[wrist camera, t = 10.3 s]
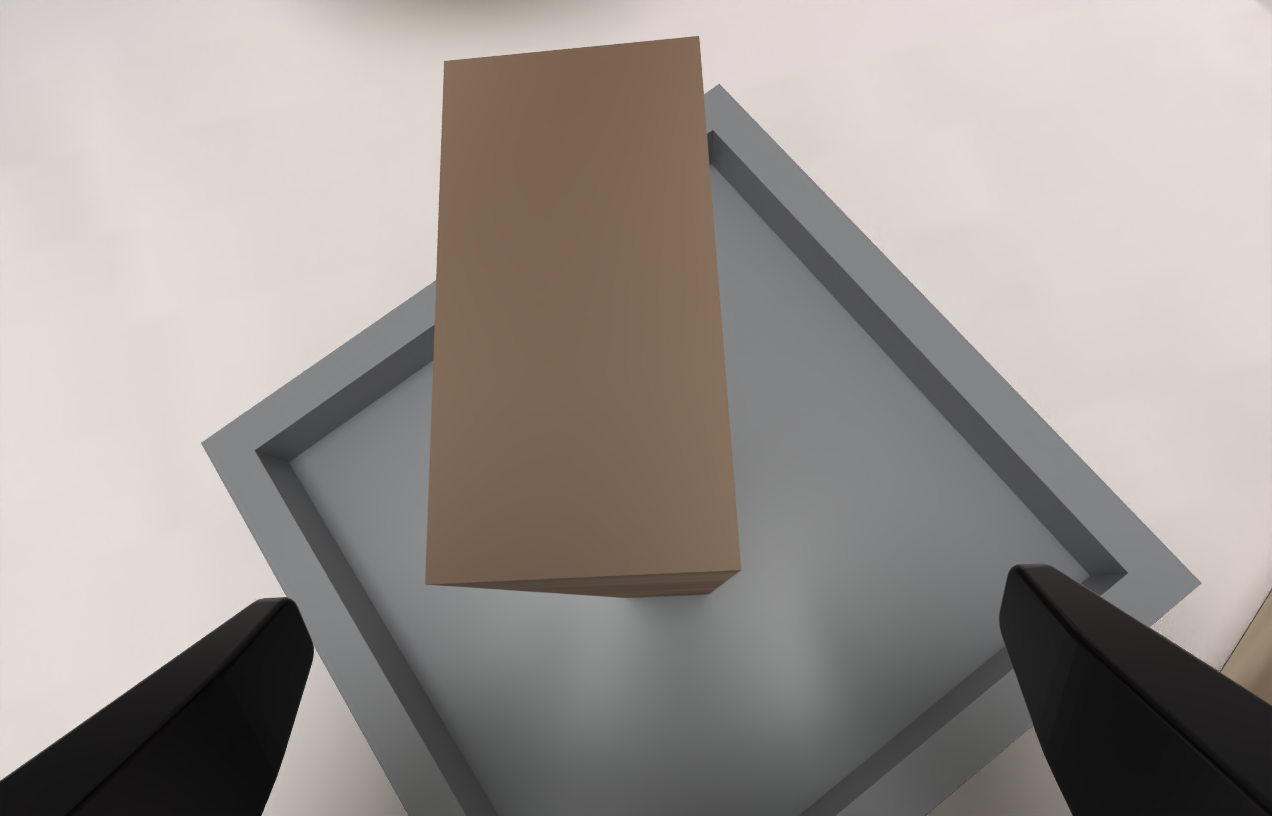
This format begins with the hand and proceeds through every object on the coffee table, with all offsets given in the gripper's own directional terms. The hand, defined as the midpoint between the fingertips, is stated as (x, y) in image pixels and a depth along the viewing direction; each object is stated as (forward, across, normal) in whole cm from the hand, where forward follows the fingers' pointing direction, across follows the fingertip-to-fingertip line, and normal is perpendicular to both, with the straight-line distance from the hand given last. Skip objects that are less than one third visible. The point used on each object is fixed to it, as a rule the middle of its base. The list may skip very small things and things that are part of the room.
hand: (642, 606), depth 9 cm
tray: (+8, 0, +5) cm, 9 cm away
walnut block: (+7, 0, +4) cm, 9 cm away
